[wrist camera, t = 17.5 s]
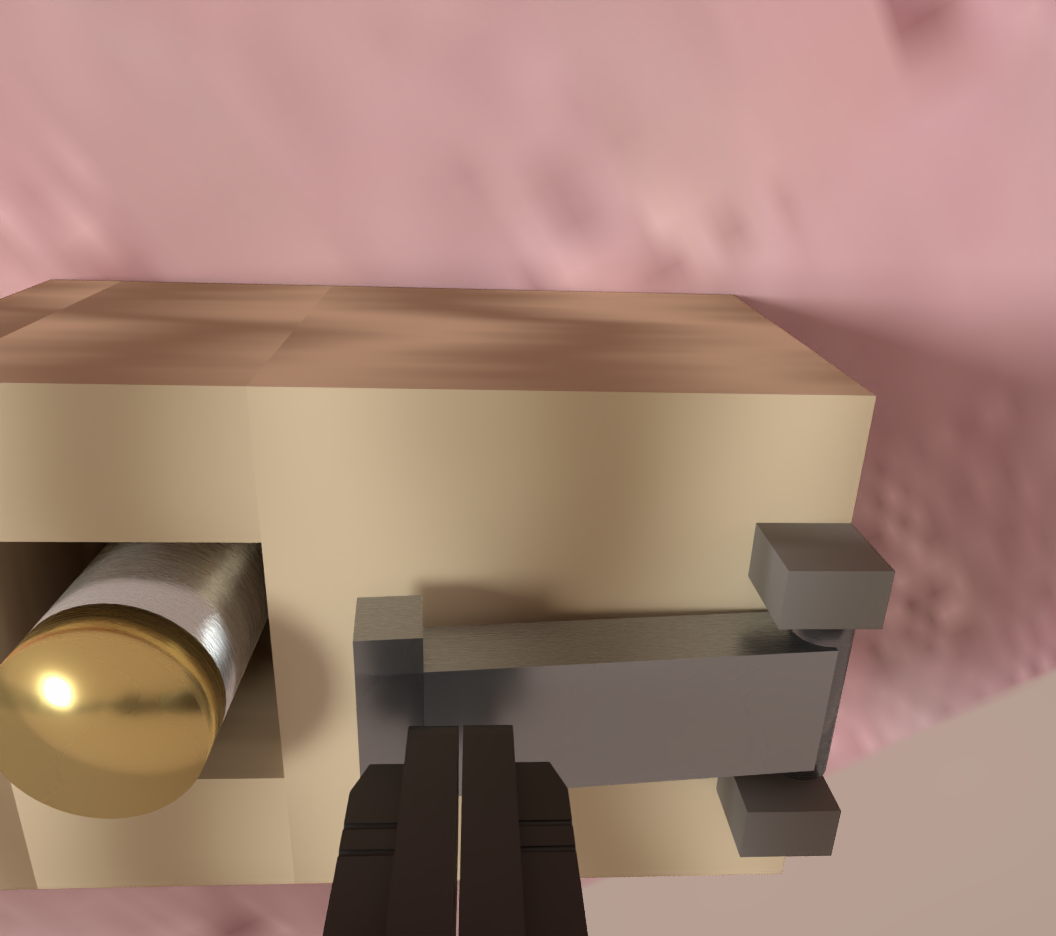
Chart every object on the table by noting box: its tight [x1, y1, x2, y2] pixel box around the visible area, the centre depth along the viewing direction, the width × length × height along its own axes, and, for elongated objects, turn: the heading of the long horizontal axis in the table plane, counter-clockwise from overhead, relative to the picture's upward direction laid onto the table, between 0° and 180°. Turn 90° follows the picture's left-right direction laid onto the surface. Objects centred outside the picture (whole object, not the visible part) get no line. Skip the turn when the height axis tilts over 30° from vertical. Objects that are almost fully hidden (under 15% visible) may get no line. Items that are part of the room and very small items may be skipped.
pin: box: [0, 542, 269, 819], centre depth 17 cm, size 3×3×10 cm
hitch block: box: [0, 280, 895, 890], centre depth 18 cm, size 16×10×10 cm, turn 88°
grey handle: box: [353, 595, 855, 796], centre depth 14 cm, size 8×4×1 cm, turn 88°
